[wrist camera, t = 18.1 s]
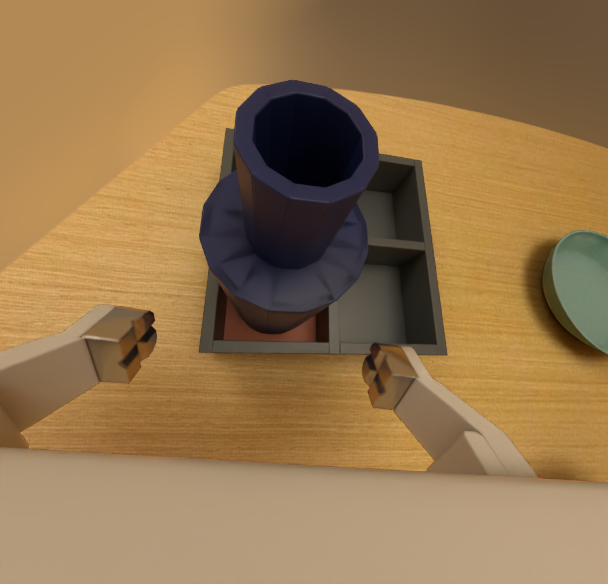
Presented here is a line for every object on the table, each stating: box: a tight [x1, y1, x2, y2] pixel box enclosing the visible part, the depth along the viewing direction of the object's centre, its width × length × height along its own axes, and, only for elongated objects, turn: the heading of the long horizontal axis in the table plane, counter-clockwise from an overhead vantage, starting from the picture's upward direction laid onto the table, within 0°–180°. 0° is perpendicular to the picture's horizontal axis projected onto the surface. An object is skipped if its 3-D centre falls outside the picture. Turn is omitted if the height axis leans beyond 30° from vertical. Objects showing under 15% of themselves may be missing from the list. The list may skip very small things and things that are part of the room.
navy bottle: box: [199, 80, 379, 334], centre depth 13 cm, size 6×6×16 cm
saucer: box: [542, 230, 608, 355], centre depth 27 cm, size 15×15×3 cm
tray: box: [199, 128, 447, 355], centre depth 21 cm, size 18×18×5 cm
